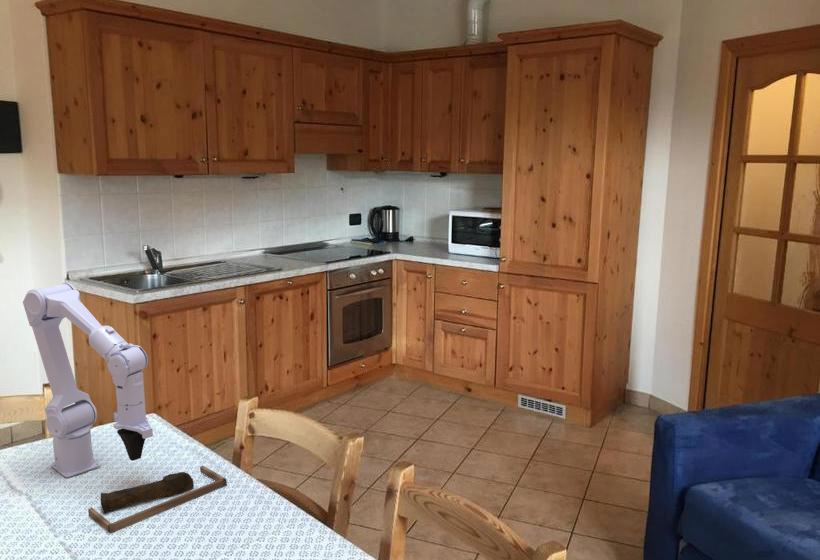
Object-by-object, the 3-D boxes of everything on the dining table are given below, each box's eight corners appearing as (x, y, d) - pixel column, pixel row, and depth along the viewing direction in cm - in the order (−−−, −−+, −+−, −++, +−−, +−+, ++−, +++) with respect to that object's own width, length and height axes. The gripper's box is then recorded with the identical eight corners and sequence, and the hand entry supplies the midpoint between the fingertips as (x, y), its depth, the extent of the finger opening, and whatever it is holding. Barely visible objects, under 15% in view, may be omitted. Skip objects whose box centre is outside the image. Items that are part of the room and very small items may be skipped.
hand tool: (102, 516, 141) (100, 495, 141) (100, 507, 145) (99, 487, 144) (196, 495, 150) (194, 475, 149) (192, 487, 154) (191, 468, 153)
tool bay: (88, 515, 141) (88, 509, 141) (203, 471, 160) (203, 465, 160) (109, 533, 135) (109, 526, 134) (226, 485, 154) (226, 478, 154)
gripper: (98, 398, 153) (103, 454, 155) (128, 415, 143) (133, 475, 146) (129, 390, 158) (133, 444, 160) (160, 406, 148) (164, 464, 151)
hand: (135, 458), depth 153 cm, fingers closed
